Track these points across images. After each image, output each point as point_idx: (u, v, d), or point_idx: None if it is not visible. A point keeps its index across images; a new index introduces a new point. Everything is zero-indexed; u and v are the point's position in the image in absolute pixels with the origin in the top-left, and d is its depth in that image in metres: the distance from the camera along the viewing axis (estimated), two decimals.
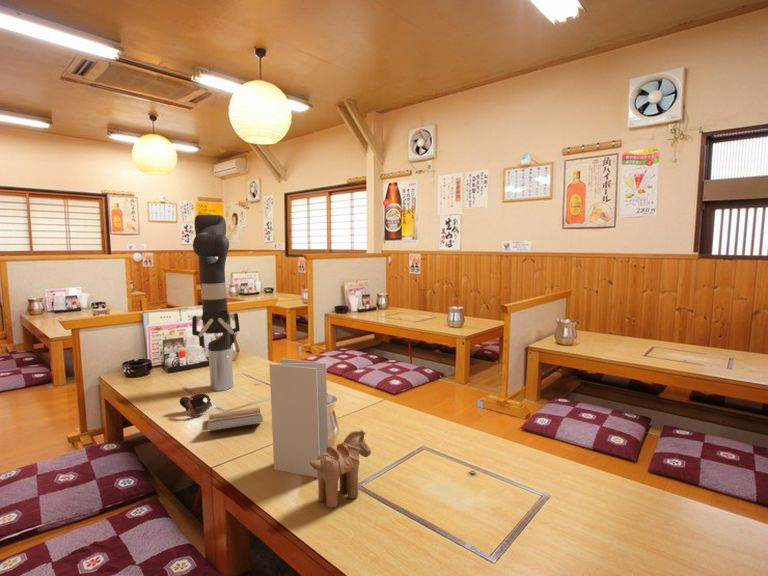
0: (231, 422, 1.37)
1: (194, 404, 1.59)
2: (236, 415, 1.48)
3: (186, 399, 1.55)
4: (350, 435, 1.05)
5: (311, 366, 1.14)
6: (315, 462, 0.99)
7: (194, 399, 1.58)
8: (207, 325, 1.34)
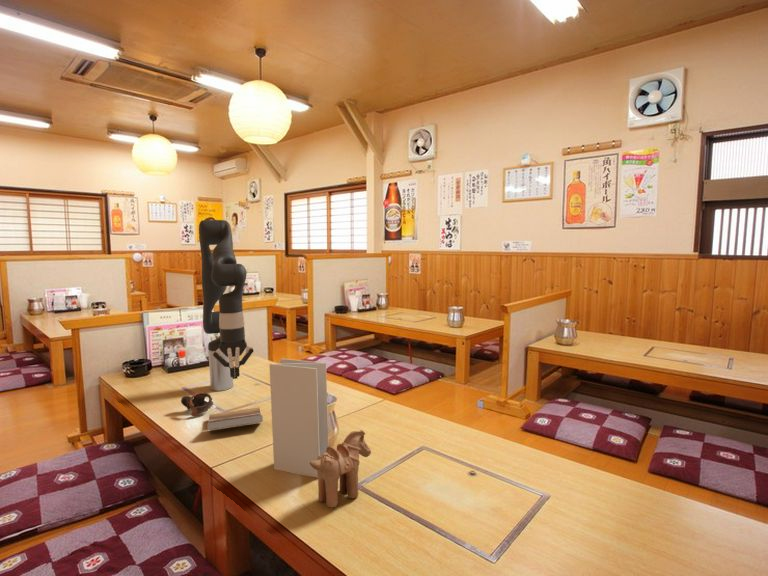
0: (231, 422, 1.37)
1: (195, 403, 1.59)
2: (236, 415, 1.48)
3: (188, 398, 1.55)
4: (350, 435, 1.05)
5: (311, 366, 1.14)
6: (315, 462, 0.99)
7: (195, 398, 1.58)
8: (229, 355, 1.35)
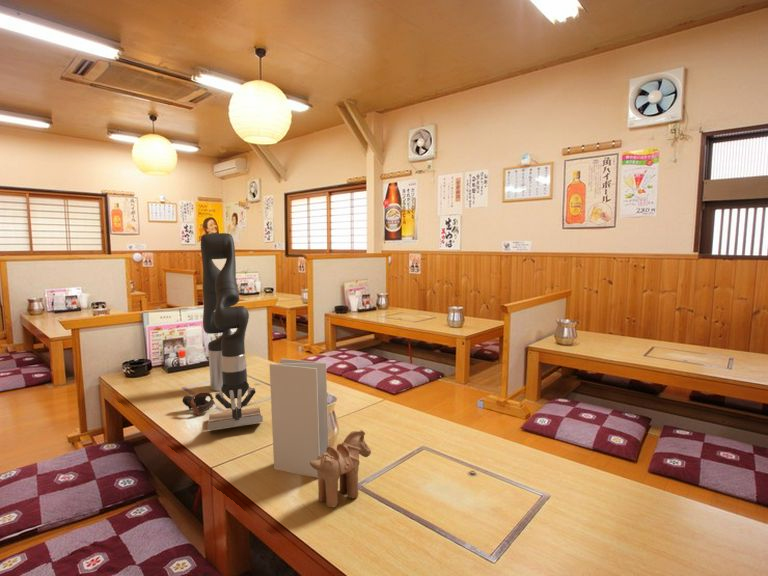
0: (231, 422, 1.37)
1: (197, 403, 1.60)
2: None
3: (189, 398, 1.56)
4: (350, 435, 1.05)
5: (311, 366, 1.14)
6: (315, 462, 0.99)
7: (197, 398, 1.59)
8: (232, 397, 1.35)
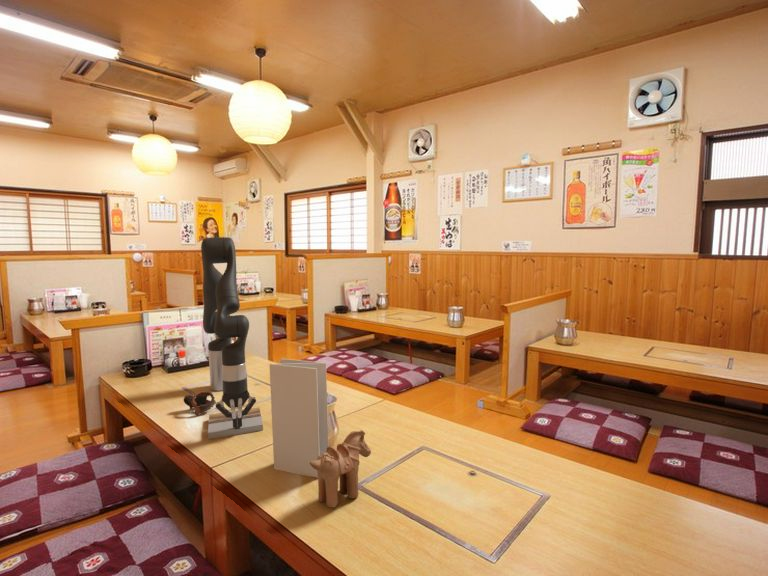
0: (231, 432, 1.37)
1: (198, 402, 1.60)
2: (236, 415, 1.48)
3: (190, 397, 1.56)
4: (350, 435, 1.05)
5: (311, 366, 1.14)
6: (315, 462, 0.99)
7: (198, 397, 1.60)
8: (232, 406, 1.35)
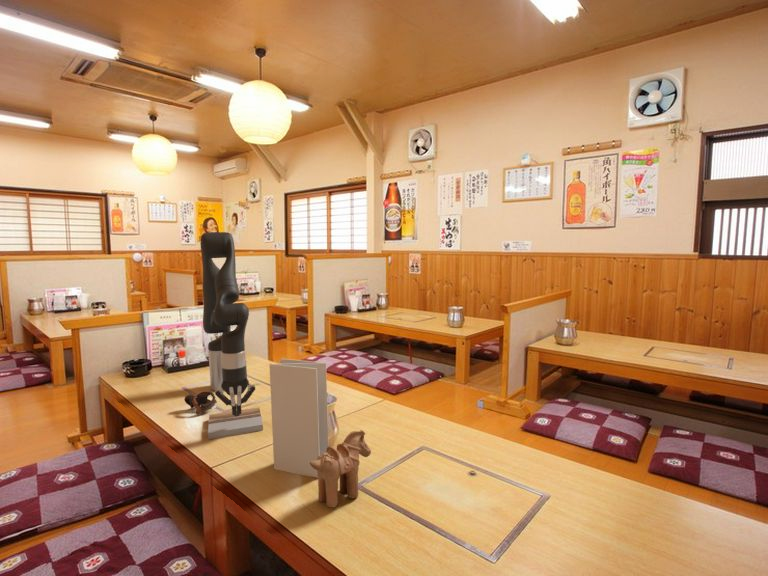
0: (231, 432, 1.37)
1: (198, 402, 1.61)
2: None
3: (191, 397, 1.57)
4: (350, 435, 1.05)
5: (311, 366, 1.14)
6: (315, 462, 0.99)
7: (199, 397, 1.60)
8: (231, 394, 1.36)
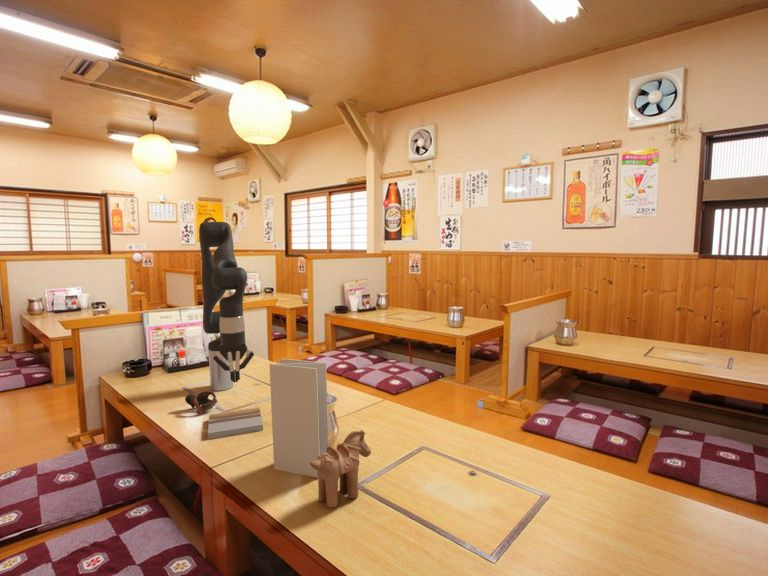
0: (231, 432, 1.37)
1: (199, 401, 1.61)
2: (236, 415, 1.48)
3: (192, 396, 1.57)
4: (350, 435, 1.05)
5: (311, 366, 1.14)
6: (315, 462, 0.99)
7: (199, 396, 1.60)
8: (230, 359, 1.35)
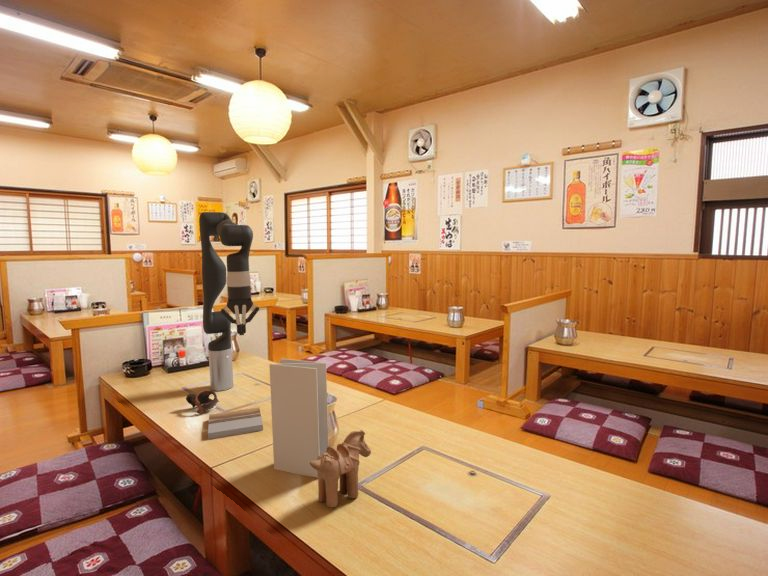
0: (231, 432, 1.37)
1: (200, 401, 1.62)
2: (236, 415, 1.48)
3: (193, 396, 1.58)
4: (350, 435, 1.05)
5: (311, 366, 1.14)
6: (315, 462, 0.99)
7: (200, 396, 1.61)
8: (236, 312, 1.41)
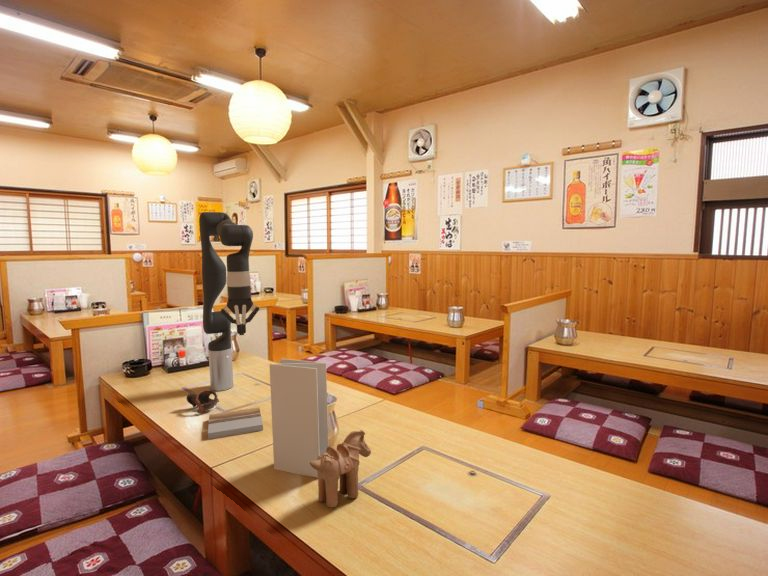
0: (231, 432, 1.37)
1: (200, 401, 1.62)
2: (236, 415, 1.48)
3: (193, 396, 1.58)
4: (350, 435, 1.05)
5: (311, 366, 1.14)
6: (315, 462, 0.99)
7: (200, 396, 1.61)
8: (236, 312, 1.41)
